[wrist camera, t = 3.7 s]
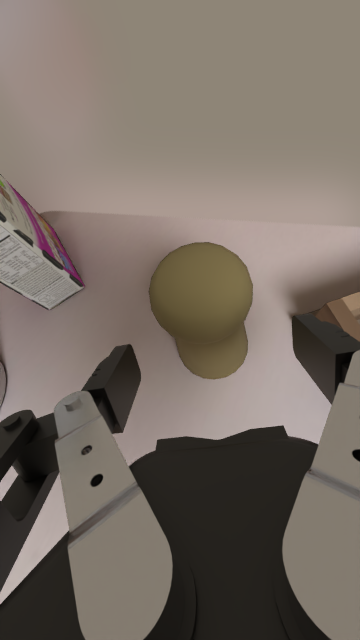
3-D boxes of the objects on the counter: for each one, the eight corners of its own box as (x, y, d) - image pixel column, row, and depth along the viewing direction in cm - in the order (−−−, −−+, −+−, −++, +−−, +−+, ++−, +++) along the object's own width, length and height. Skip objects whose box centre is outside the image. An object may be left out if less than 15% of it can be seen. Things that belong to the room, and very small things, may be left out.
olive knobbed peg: (207, 395, 19) (182, 370, 9) (165, 340, 21) (108, 273, 11) (263, 348, 19) (299, 276, 10) (216, 299, 22) (205, 202, 12)
